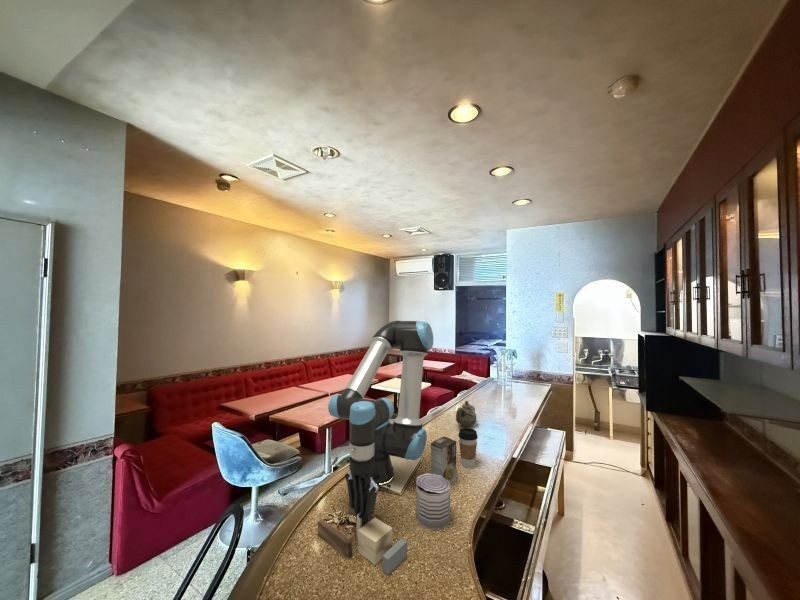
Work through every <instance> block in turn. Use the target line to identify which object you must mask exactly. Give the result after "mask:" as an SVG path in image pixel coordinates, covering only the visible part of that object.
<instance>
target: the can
mask: <svg viewBox="0 0 800 600" xmlns="http://www.w3.org/2000/svg"><path fill="white" fill-rule="evenodd" d="M415 486H416V487H415V491H416V492H415V505H416V506H415V518H416V520H417V521H418V523H419V525H420V526H421V527H424V528H426V529H427V530H442V529H443V528H445V527H447V526H449V523H450V520H451V485H450V481H448V480H446V479H445V478H443V477H442V476H440V475H435V474H431V473H423V474H420V475H418V476H417V477H416V483H415Z"/></svg>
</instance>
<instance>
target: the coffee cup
mask: <svg viewBox="0 0 800 600" xmlns="http://www.w3.org/2000/svg"><path fill="white" fill-rule="evenodd" d="M458 437H459V440H458V443H459V454H460V464H462V465H463V466H462V465H461V466H462V467H464V468H466V467H468V468H467V469H470V468H471V469H473V468H475V467H476V466H475V465H476V455H477V446H478V443H477V442H478V433H477V430H476V429H473V428H471V427H468V428H467V427H464V428H460V429H459V431H458Z"/></svg>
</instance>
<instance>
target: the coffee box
mask: <svg viewBox="0 0 800 600" xmlns="http://www.w3.org/2000/svg"><path fill="white" fill-rule="evenodd" d="M430 474H435V475H440V476H442V477H443V478H445V479H446V480H448V481H450V486H451V485H453V484H454V483H456V482H457V440H455V439H452V438H450V437H447V436H442V437H440V438H438V439H436V440H434V441H432V442H430Z"/></svg>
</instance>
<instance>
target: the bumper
mask: <svg viewBox="0 0 800 600" xmlns="http://www.w3.org/2000/svg"><path fill="white" fill-rule="evenodd" d="M407 557H408V541H407V540H405V539H404V538H402V537H401V538H399V540H398V541H396V543H394V544H392V547H391V548H390V549H389V550H388V551H387V552H386V553H385V554H384V555H383V556H382V559H381V560H382V562H381V563H382V564H381V565H382V572H383V573H384V574H386V575H387V576H389V575H390V574H391V573H392V572H393V571H394V570H395V569H397V567H398V566H399V565H400V564H401V563H402V562H403V560H404V559H406V558H407Z"/></svg>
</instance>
